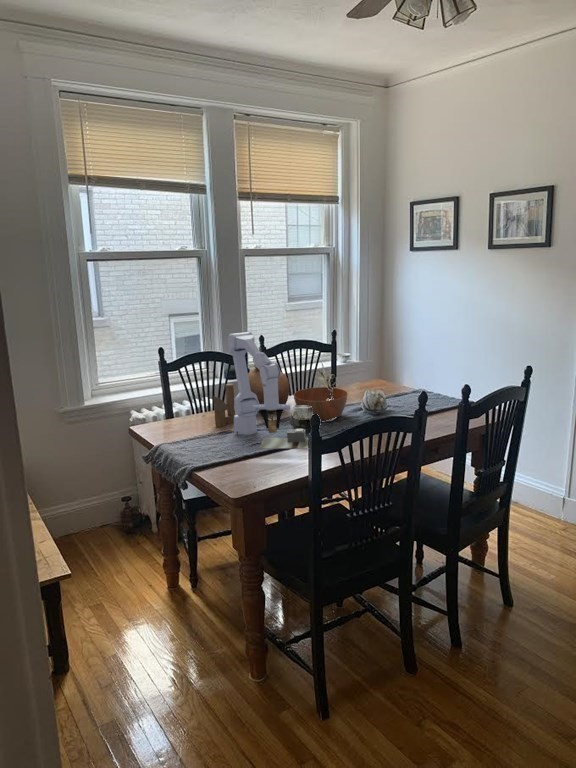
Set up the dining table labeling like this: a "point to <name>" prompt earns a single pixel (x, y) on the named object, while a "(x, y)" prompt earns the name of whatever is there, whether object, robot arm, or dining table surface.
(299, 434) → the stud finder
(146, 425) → the dining table surface
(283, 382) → the pottery
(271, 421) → the small yellow jar
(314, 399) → the bowl
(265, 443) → the subfloor board
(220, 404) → the wooden block
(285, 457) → the dining table surface
